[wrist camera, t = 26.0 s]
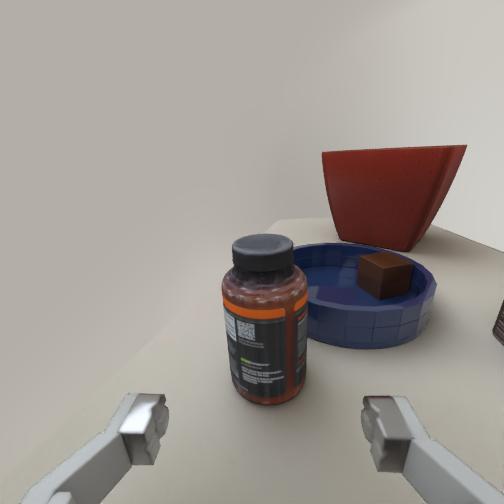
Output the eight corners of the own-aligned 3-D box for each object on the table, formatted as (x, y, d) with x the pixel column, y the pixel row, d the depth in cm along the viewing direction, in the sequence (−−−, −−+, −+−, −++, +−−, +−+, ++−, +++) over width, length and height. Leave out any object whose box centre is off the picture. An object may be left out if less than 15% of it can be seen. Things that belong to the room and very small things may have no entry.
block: (378, 300, 28) (383, 268, 27) (356, 284, 32) (359, 255, 31) (407, 294, 29) (414, 262, 28) (382, 279, 33) (387, 251, 32)
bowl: (322, 374, 20) (325, 333, 19) (248, 281, 36) (246, 255, 34) (469, 319, 26) (480, 284, 24) (349, 259, 41) (351, 236, 40)
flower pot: (428, 264, 38) (455, 143, 32) (314, 241, 50) (319, 151, 44) (446, 234, 51) (468, 143, 45) (353, 221, 63) (360, 149, 57)
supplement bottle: (296, 346, 23) (298, 226, 19) (315, 406, 18) (324, 255, 13) (231, 351, 23) (220, 231, 19) (229, 413, 17) (213, 262, 13)
